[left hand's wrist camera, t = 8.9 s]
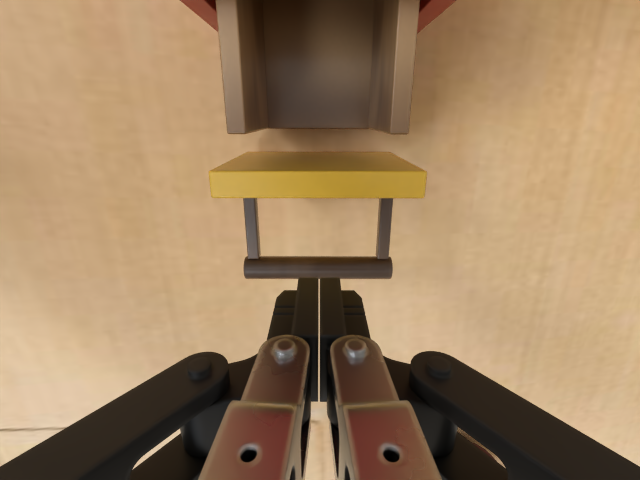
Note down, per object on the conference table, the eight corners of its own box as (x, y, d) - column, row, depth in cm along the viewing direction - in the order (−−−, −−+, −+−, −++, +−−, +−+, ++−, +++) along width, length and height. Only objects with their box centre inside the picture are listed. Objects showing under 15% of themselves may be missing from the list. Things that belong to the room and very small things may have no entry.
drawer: (384, 241, 24) (413, 299, 17) (253, 241, 24) (222, 299, 17) (412, -165, 17) (490, -400, 9) (224, -165, 17) (144, -400, 9)
